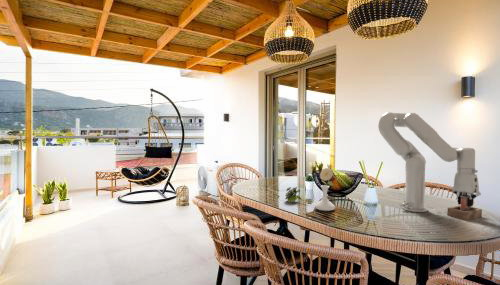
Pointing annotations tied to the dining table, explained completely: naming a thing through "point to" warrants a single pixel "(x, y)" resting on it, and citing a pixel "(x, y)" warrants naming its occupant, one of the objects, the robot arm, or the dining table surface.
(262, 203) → the dining table surface
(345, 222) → the dining table surface
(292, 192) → the green leafy plant
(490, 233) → the dining table surface
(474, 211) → the lighter dock
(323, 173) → the flower in vase
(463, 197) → the lighter
